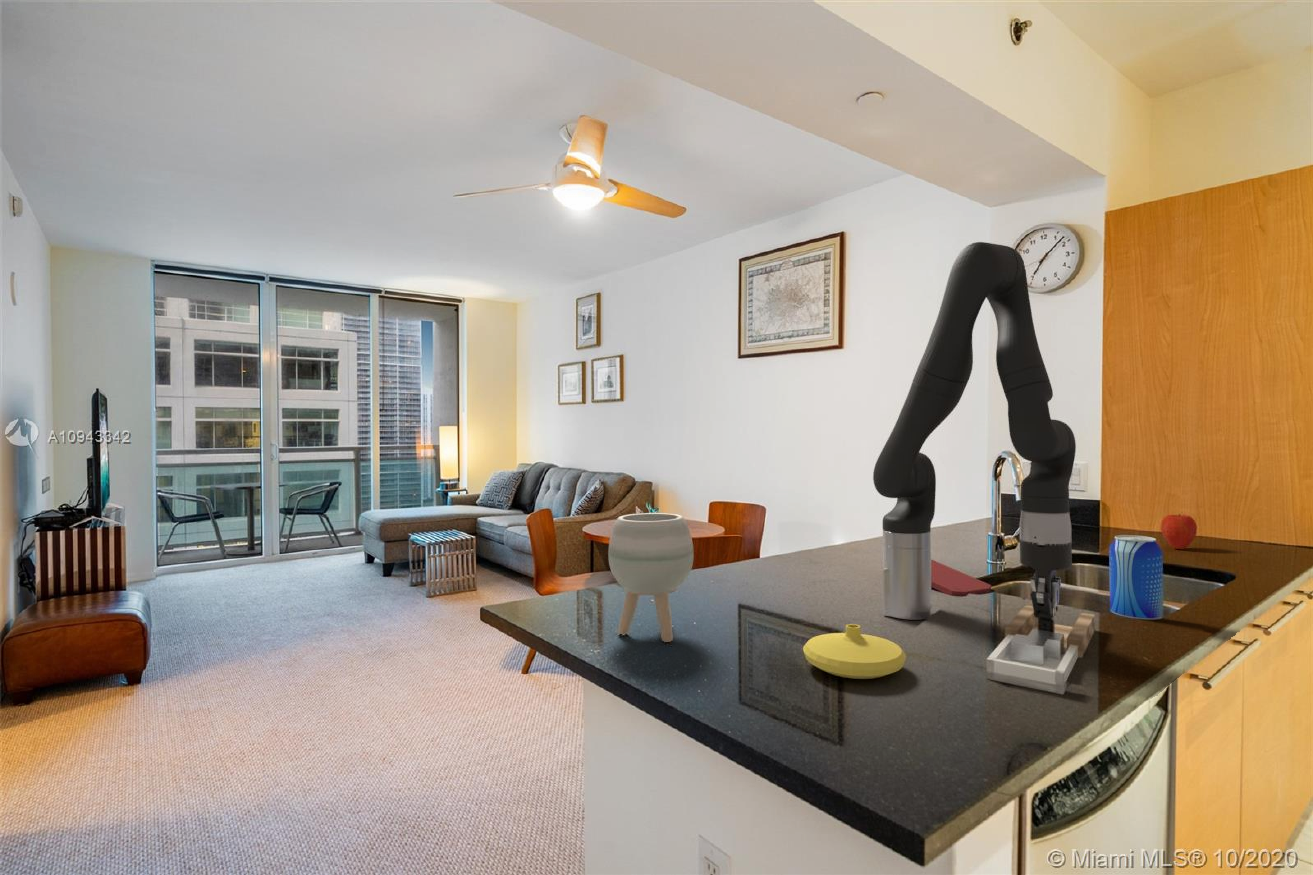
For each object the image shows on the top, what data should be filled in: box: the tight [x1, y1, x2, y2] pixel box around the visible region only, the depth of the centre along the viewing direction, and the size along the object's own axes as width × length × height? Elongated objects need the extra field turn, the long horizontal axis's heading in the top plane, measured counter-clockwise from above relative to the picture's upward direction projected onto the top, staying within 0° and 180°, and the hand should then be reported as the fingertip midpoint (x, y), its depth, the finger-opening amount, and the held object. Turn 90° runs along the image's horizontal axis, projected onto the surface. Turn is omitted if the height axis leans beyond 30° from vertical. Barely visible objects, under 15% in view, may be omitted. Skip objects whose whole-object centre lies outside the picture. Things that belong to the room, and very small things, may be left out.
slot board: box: [1004, 605, 1096, 659], centre depth 115 cm, size 18×11×4 cm, turn 141°
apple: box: [1160, 513, 1198, 550], centre depth 197 cm, size 9×8×11 cm
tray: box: [986, 634, 1079, 695], centre depth 102 cm, size 15×10×3 cm, turn 141°
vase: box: [802, 623, 907, 680], centre depth 105 cm, size 16×16×7 cm
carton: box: [931, 558, 992, 597], centre depth 161 cm, size 12×5×25 cm
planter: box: [607, 512, 694, 643], centre depth 124 cm, size 16×16×22 cm
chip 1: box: [1010, 634, 1048, 666], centre depth 104 cm, size 4×4×3 cm
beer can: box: [1108, 534, 1164, 620], centre depth 128 cm, size 8×8×16 cm
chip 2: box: [1028, 629, 1064, 660], centre depth 107 cm, size 4×4×3 cm
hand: (1046, 640), depth 110 cm, fingers closed
